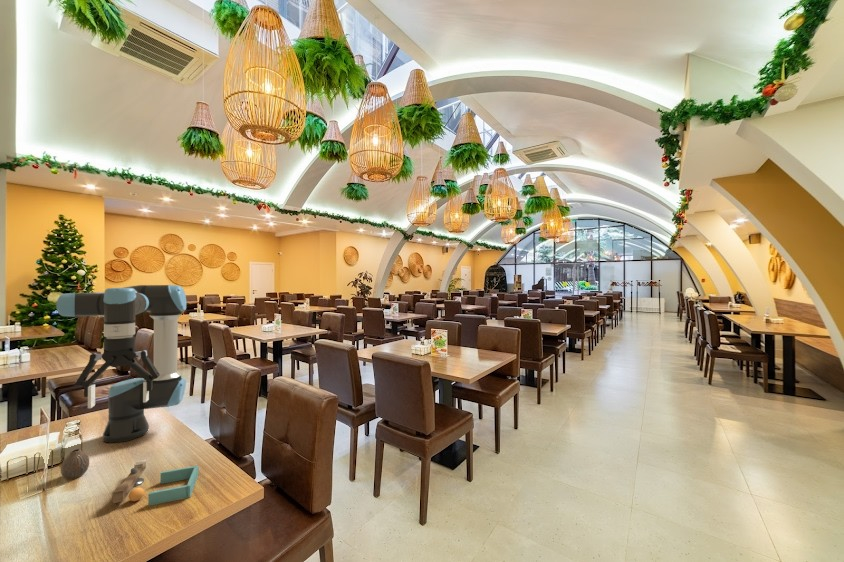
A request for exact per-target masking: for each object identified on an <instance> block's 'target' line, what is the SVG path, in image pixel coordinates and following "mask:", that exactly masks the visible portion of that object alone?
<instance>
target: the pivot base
mask: <svg viewBox="0 0 844 562" xmlns="http://www.w3.org/2000/svg"><path fill="white" fill-rule="evenodd" d="M144 481H145V479H144V478H142V477H139V478H138V481H136V483H135V484H134V486H133V487H132V488H137V487H139V486H140V485H142V484H143V483H144Z"/></svg>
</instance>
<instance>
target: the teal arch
mask: <svg viewBox="0 0 844 562" xmlns="http://www.w3.org/2000/svg"><path fill="white" fill-rule="evenodd" d="M198 477H199V465H193V466H187V467H186V466H185V467H181V468H175V469H170V470H164V471H161V472H160V485H162V484H167V483H168V484H169V483H172V482H173V483H174V482H177V481H183V480H188V482H187V484H185V485H179V486H174V487H170V488H164V489H158V490H155V491H150V492H148V495H147V496H148V503H147V504H148V506H154V505H158V504H164V503H168V502H174V501H178V500H179V501H180V500H183V499H184V500H185V499H187V498H188V499H189V498H191V496H192V494H193V492H194V488H195V487H196V486H195V485H196V482H197V479H198Z"/></svg>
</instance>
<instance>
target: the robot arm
mask: <svg viewBox="0 0 844 562" xmlns="http://www.w3.org/2000/svg"><path fill="white" fill-rule="evenodd" d="M186 310H187V297H186V291H185V290H184V289H183V287H182V286H180V285H175V284H174V285H173V284H141V285H140V284H138V285H130V286H124V287H109V288H106V289H105V290H104V291H95V292H94V291H93V292H80V293H79V292H72V293H62V294H61V295H59V297H58V298H57V300H56V311H57V313H58V314H59V315H60V316H62V317H73V318H75V317H92V316H93V317H94V316H96V317H97V316H102V317H103V337H104V339H103V353H98V352H94V353H91V354H90V355H89V359H88V363H87V364H86V366H85V367H84V369H83V371H82V372H81V373H80V375H79V377H78V378H77V380H76V382H75V385H76V386H82V387H83V397H84V398H87V409H92V408H93V407H95V405H96V384H95V383H94V382H95V381H96V380H97V379H98V378H99V377H100V376H101V375H102V374H103V373H104V372H105V371H106V370H107V369H108V368H116V367H125V366H126V367H127V366H128V367H129V368H131V369H132V370H133V371H135V372H136V373H137V374H138V375H139V376H140V377H135V378H131V379H130V378H129V379H126V380H122V381H119V382H117V383H114V384H112V385H111V386H110V387H109V389H108V396H107V398H108V420H107V423H106V426H105V428H104V431H103V434H102V442H104V441H105V442H104V443H106V442H110V443H109V444H112V443H111V442H117V443H123V441H124V442H127V441H133V440H135V439H138V438H140V437H139V436H141V435H143V434H145V433H146V432H147V431H148V429H149V428H150V425H149V423H148V420H147V418H146V415H145V410H147V409H157V408H159V409H160V408H169V407H174V406H178V405H179V404H181V402H182V401H183V398H184V395H185V391H186V386H187V381H186V380H187V379H186V378H184V377H182V373H181V372H180V371H178V345H179V344H178V342H179V341H178V338H179V337H178V333H179V332H178V329H179V328H178V326H179V325H178V323H179V321H178V319H179V318H180V317H181V316H182V314H183V312H185V311H186ZM143 312H144V313H145V312H147V313H149V317H150V318H151V319H153V362H152V360H151V358H150V357H149V351H148V349H144V350H141V351H137V350H136V337H135V335H136V315H140V314H141V313H143ZM137 356H138V358H139V359H141V361H142V362H143V364H144V366H145V367H146V368H144V367H143V366H142V365H140V364H139V362H138V361H137V360H136V359H135V358H136V357H137ZM101 359H102V360H103V361H104V363H103V364H102V365H101V366H100V368H98V370H96V371H95V372H94V373H93V375H91V376H90V377H89V375H90V374H91V372H92V370H93V368H94V367H95V366H96V365H97V363H98V361H99V360H101ZM146 369H147V370H146ZM88 377H89V378H88ZM149 430H150V429H149ZM148 432H149V431H148ZM148 432H147V433H148ZM147 433H146V434H147ZM146 434H145V435H146ZM143 436H144V435H143ZM137 437H138V438H137ZM141 437H142V436H141ZM134 438H135V439H134Z"/></svg>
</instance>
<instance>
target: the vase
mask: <svg viewBox="0 0 844 562" xmlns="http://www.w3.org/2000/svg"><path fill="white" fill-rule="evenodd" d="M89 467H90V458H89V456H88V455H87V454H86V453H85V452H83V451H82V450H81V448H76V449H75V448H74V449H73V450H70V452H69V454H68V455H67V456H66V458H65V459H64V460H63V461H62V463H61V466H60V474H61V475H62V477H63V478H64V479H66V480H75V479H79V478H80V477H83V475H85V473H86V472H87V471H88V469H89Z"/></svg>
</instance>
